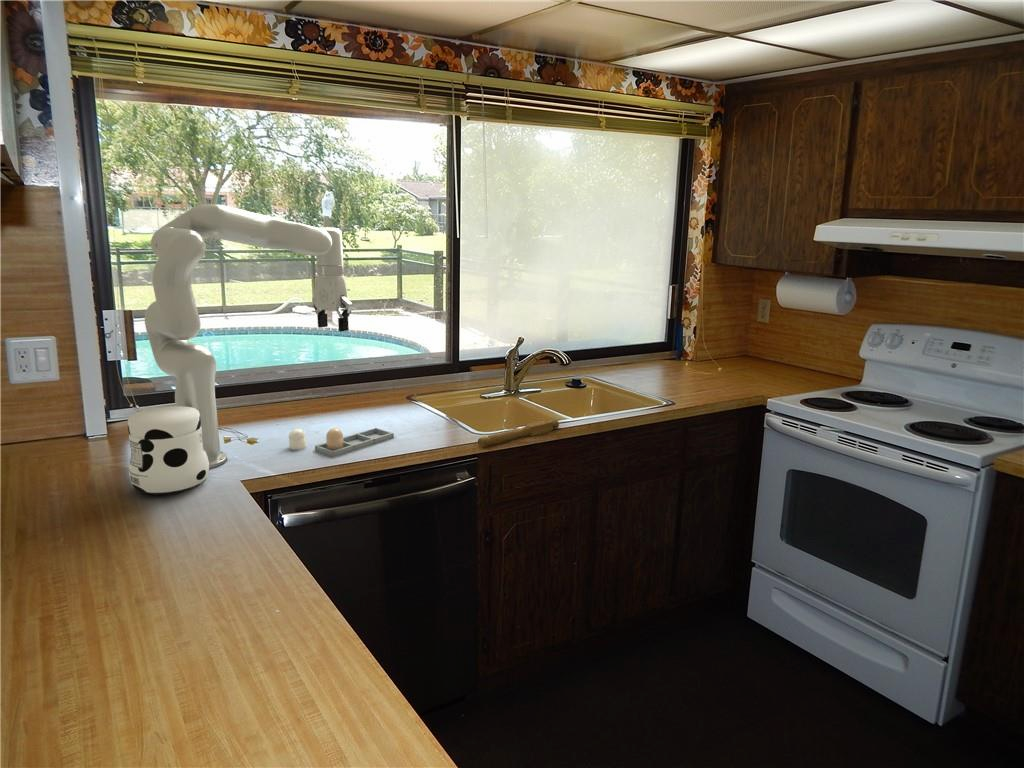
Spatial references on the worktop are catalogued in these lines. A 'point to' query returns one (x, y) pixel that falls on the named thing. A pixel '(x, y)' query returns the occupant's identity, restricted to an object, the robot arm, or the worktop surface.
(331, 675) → the worktop surface
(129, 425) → the milk container
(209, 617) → the worktop surface
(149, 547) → the worktop surface
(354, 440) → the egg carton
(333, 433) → the brown egg
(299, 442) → the white egg
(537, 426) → the brown long rod
